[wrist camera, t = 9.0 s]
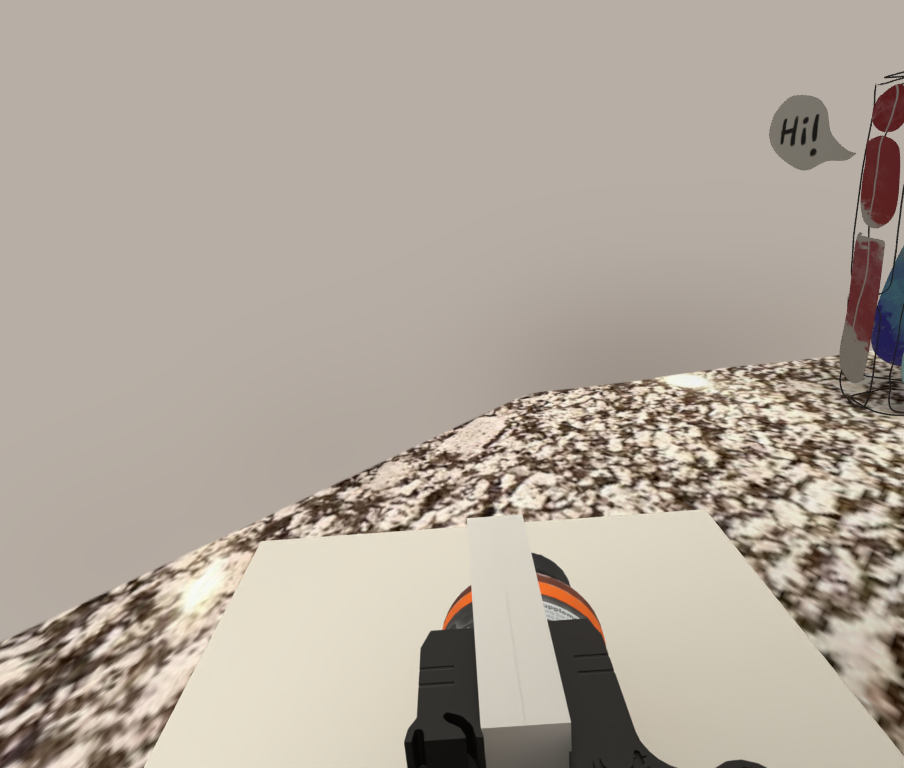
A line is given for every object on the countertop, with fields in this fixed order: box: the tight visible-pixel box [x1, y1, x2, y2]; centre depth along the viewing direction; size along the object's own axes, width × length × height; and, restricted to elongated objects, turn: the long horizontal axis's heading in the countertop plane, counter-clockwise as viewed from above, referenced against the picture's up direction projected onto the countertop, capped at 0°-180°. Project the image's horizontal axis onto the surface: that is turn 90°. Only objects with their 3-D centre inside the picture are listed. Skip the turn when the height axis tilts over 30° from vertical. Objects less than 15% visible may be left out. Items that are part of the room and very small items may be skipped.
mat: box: [144, 509, 904, 768], centre depth 25 cm, size 26×20×1 cm
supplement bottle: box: [442, 552, 606, 645], centre depth 19 cm, size 6×6×11 cm
